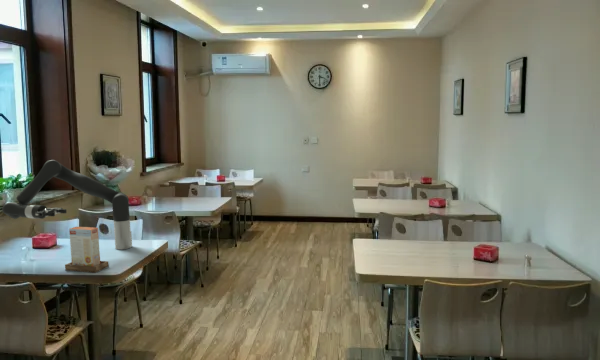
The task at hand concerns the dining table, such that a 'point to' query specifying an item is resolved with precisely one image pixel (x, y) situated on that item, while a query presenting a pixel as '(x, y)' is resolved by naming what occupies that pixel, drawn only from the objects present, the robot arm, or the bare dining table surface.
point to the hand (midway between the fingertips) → (60, 212)
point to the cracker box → (84, 246)
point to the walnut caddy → (87, 267)
